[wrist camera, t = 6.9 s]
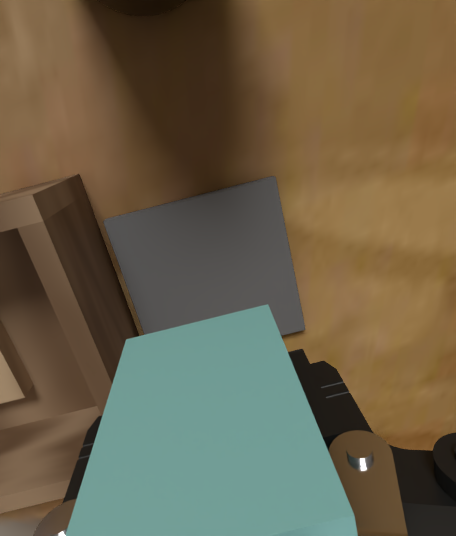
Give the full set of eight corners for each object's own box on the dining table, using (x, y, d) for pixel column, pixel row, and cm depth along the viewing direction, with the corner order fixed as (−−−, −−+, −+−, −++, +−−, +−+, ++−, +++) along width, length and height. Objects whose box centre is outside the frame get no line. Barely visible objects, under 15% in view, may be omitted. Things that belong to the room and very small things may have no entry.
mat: (273, 175, 21) (275, 177, 20) (302, 324, 24) (305, 329, 23) (105, 219, 21) (103, 221, 20) (157, 361, 24) (156, 366, 23)
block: (267, 304, 12) (354, 515, 6) (293, 417, 14) (382, 685, 7) (126, 339, 12) (48, 590, 6) (167, 448, 14) (143, 743, 7)
